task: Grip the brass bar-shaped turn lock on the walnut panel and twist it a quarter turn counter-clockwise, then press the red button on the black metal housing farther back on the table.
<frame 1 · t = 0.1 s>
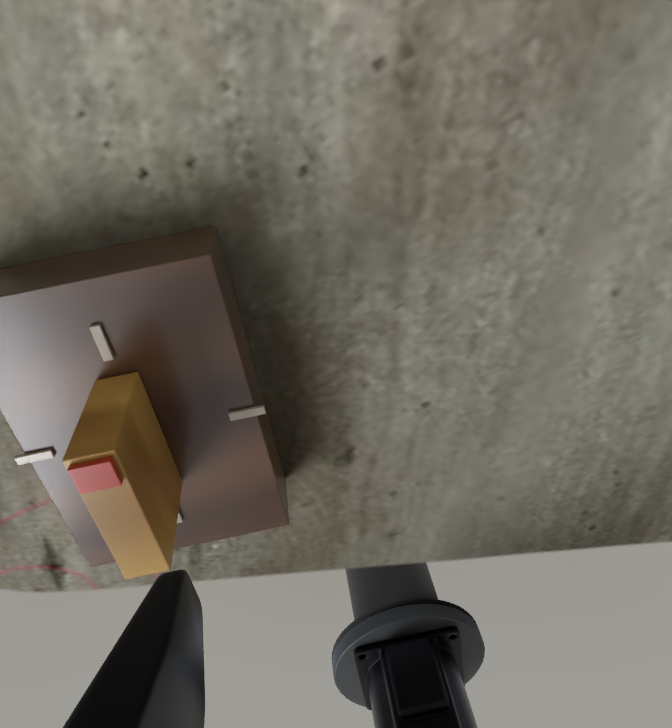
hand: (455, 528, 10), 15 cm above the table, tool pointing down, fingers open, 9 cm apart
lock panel: (152, 390, 25), on the table
lock knob: (131, 475, 21), point 5 cm above the table, hinge at 0.0°
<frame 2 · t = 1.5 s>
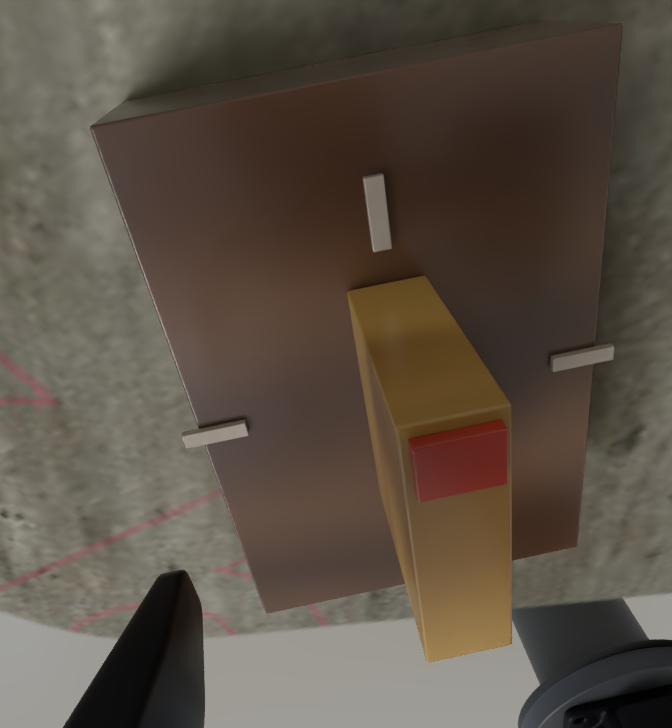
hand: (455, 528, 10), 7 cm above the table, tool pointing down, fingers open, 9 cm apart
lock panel: (374, 330, 16), on the table
lock knob: (427, 465, 11), point 5 cm above the table, hinge at 0.0°
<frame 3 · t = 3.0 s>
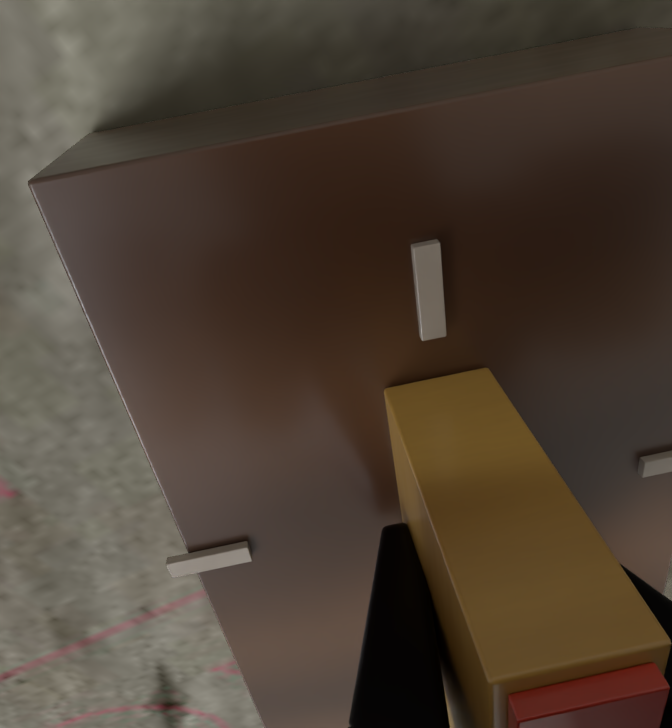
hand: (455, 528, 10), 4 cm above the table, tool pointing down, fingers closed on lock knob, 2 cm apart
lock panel: (406, 406, 13), on the table
lock knob: (495, 630, 8), point 5 cm above the table, hinge at 0.1°, touching gripper
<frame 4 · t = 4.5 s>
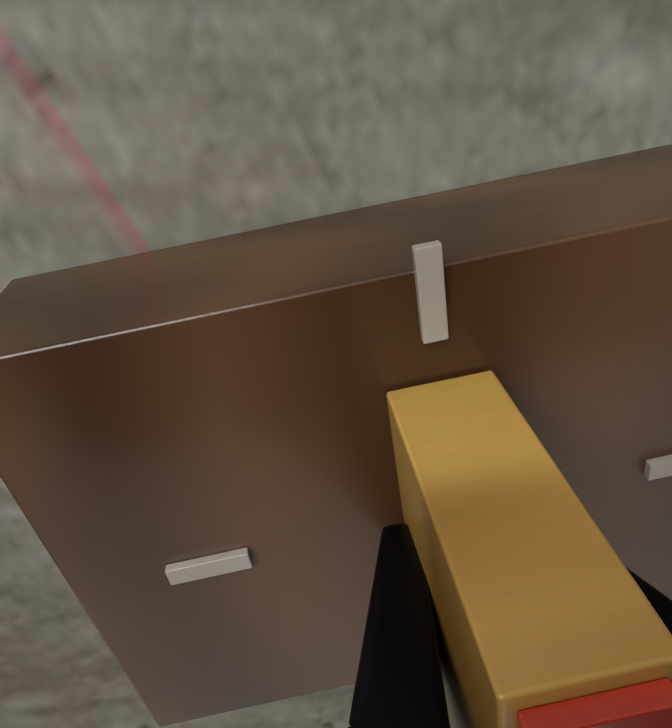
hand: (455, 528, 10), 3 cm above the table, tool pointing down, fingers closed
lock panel: (407, 408, 13), on the table
lock knob: (500, 639, 8), point 5 cm above the table, hinge at 89.7°
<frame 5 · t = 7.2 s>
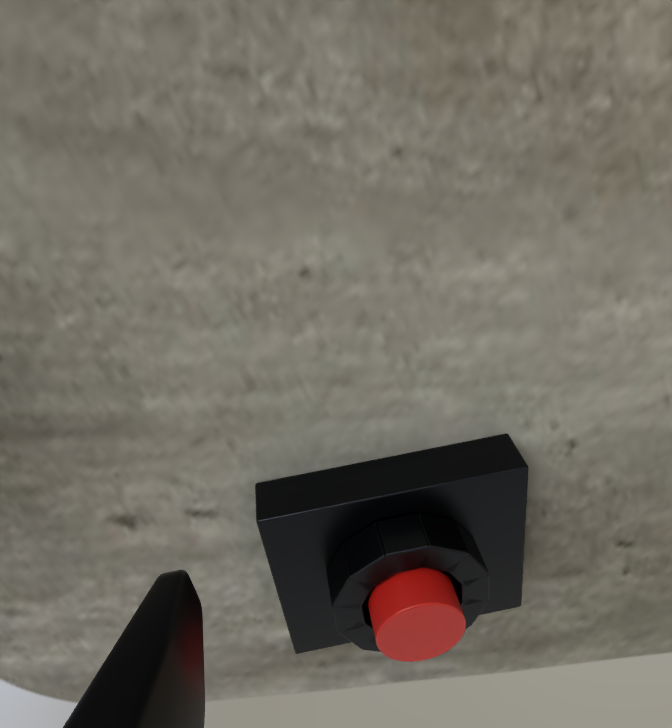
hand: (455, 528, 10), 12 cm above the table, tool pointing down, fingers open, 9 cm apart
button box: (391, 530, 27), on the table
button: (416, 614, 24), point 4 cm above the table, slide at 0.1 cm
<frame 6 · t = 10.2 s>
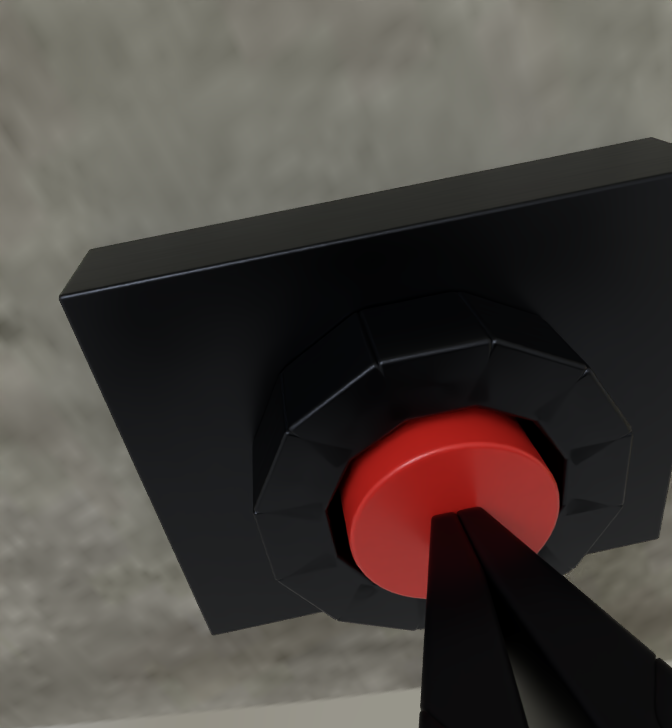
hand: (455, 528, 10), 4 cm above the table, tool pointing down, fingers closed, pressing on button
button box: (398, 384, 14), on the table
button: (442, 493, 11), point 4 cm above the table, slide at -0.8 cm, touching gripper
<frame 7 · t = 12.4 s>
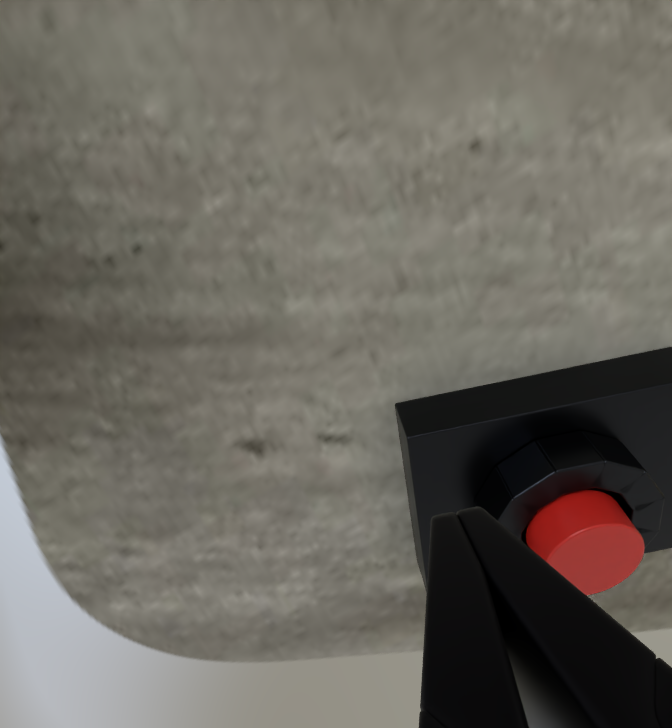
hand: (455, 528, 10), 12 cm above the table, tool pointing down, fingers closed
button box: (533, 462, 25), on the table
button: (583, 543, 21), point 4 cm above the table, slide at 0.1 cm
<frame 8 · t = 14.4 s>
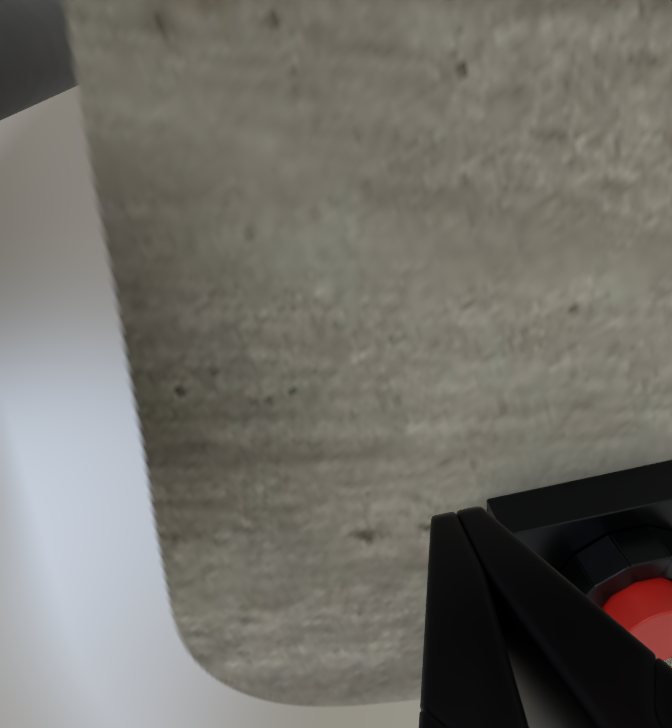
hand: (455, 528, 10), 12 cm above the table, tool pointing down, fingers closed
button box: (596, 540, 29), on the table
button: (649, 620, 25), point 4 cm above the table, slide at 0.1 cm
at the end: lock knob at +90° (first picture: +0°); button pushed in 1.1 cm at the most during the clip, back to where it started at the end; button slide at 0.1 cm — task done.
